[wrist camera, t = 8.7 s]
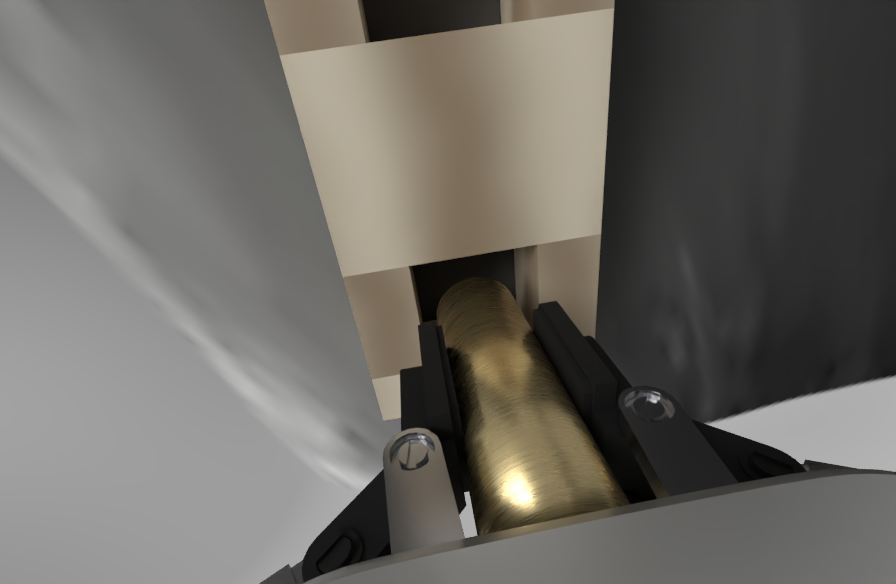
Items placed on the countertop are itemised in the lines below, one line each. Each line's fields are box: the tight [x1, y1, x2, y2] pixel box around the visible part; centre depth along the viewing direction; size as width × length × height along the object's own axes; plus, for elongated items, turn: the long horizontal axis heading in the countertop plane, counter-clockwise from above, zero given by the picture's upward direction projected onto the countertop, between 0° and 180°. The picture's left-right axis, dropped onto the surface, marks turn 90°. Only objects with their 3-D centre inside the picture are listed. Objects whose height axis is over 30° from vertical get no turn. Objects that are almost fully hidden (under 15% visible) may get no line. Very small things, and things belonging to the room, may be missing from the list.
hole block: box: [264, 0, 615, 421], centre depth 14 cm, size 9×20×4 cm, turn 8°
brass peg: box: [437, 276, 630, 536], centre depth 11 cm, size 3×3×10 cm
